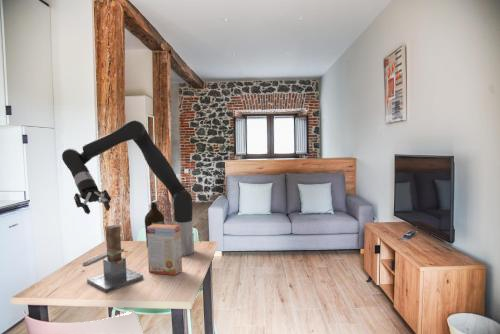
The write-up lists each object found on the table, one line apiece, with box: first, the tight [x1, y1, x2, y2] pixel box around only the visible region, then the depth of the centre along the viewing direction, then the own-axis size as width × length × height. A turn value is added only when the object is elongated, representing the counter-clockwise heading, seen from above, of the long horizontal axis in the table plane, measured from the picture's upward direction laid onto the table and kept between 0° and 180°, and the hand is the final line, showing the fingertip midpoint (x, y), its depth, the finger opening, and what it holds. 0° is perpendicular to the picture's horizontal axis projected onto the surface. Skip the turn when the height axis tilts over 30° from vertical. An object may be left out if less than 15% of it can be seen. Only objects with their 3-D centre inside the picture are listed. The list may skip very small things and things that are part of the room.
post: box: [105, 224, 123, 261], centre depth 129 cm, size 4×4×17 cm
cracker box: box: [147, 224, 183, 276], centre depth 138 cm, size 14×6×21 cm, turn 71°
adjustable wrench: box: [82, 246, 124, 267], centre depth 159 cm, size 25×6×2 cm, turn 157°
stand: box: [86, 255, 144, 294], centre depth 130 cm, size 16×16×10 cm
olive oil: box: [144, 201, 165, 248], centre depth 175 cm, size 11×11×25 cm
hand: (98, 211), depth 135 cm, fingers open, 8 cm apart
